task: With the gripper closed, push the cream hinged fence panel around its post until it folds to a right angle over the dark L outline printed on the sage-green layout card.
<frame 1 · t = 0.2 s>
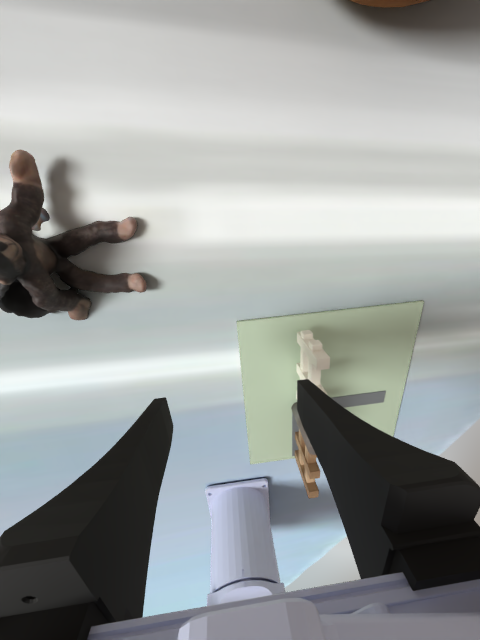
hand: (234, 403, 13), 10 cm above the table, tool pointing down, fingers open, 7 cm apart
layout card: (325, 391, 26), on the table
fixed fence panel: (297, 431, 28), resting on layout card
folding fence panel: (310, 381, 21), point 3 cm above the table, hinge at 0.0°
stuffed animal: (51, 244, 18), on the table
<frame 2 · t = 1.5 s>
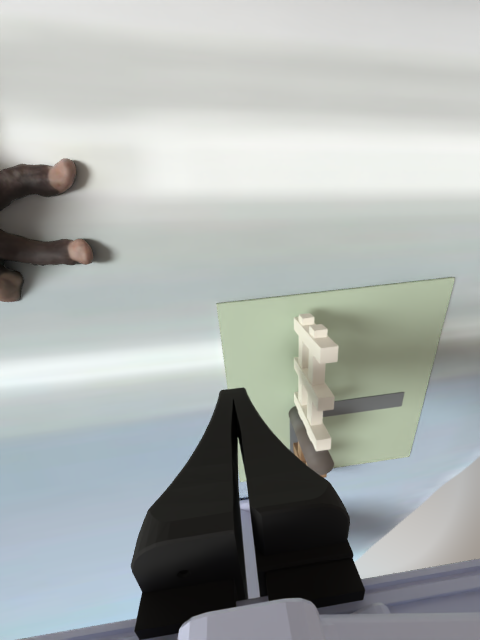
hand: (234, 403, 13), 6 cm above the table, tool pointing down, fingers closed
layout card: (330, 392, 21), on the table
fixed fence panel: (297, 442, 23), resting on layout card
folding fence panel: (311, 380, 16), point 3 cm above the table, hinge at 0.0°
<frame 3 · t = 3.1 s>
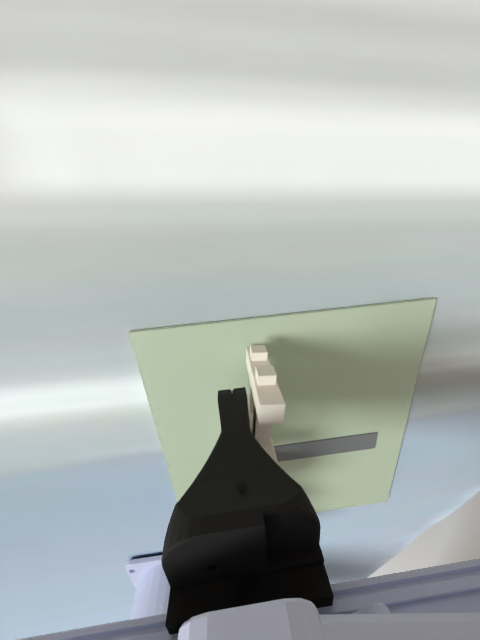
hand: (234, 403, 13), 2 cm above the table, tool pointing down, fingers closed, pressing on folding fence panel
layout card: (287, 433, 17), on the table
folding fence panel: (258, 430, 13), point 3 cm above the table, hinge at 5.8°, touching gripper
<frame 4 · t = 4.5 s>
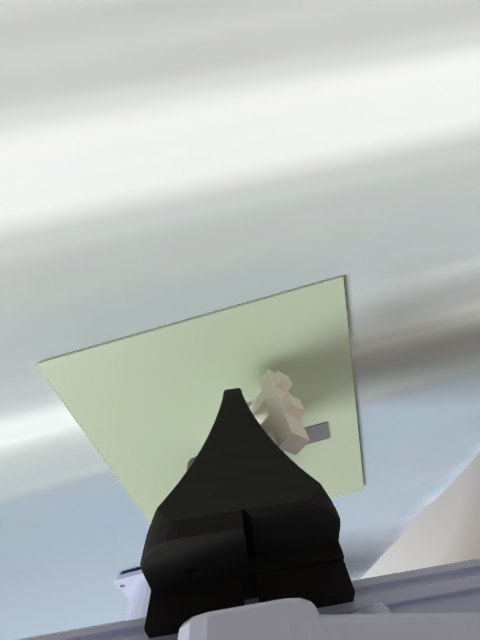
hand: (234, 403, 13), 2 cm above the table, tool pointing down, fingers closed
layout card: (233, 436, 17), on the table
folding fence panel: (245, 447, 13), point 3 cm above the table, hinge at 47.6°, touching gripper
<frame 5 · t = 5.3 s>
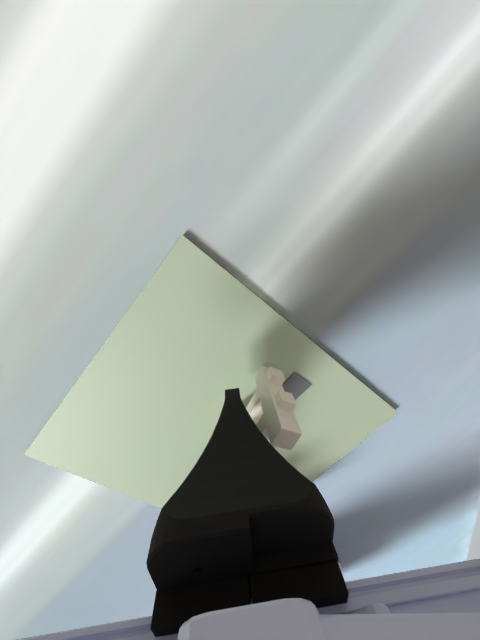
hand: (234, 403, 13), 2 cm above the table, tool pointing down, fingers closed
layout card: (219, 429, 17), on the table
folding fence panel: (246, 446, 13), point 3 cm above the table, hinge at 74.3°, touching gripper
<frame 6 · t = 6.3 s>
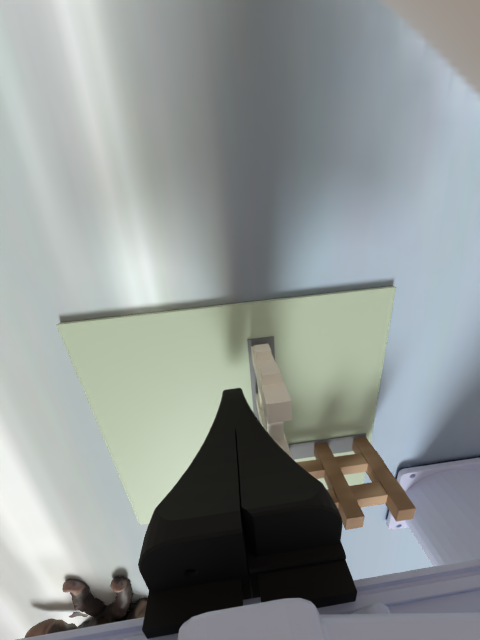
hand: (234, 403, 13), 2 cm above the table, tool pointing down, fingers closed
layout card: (244, 423, 17), on the table
fixed fence panel: (318, 443, 18), resting on layout card
folding fence panel: (271, 428, 13), point 3 cm above the table, hinge at 89.1°, touching gripper
stuffed animal: (102, 603, 25), on the table
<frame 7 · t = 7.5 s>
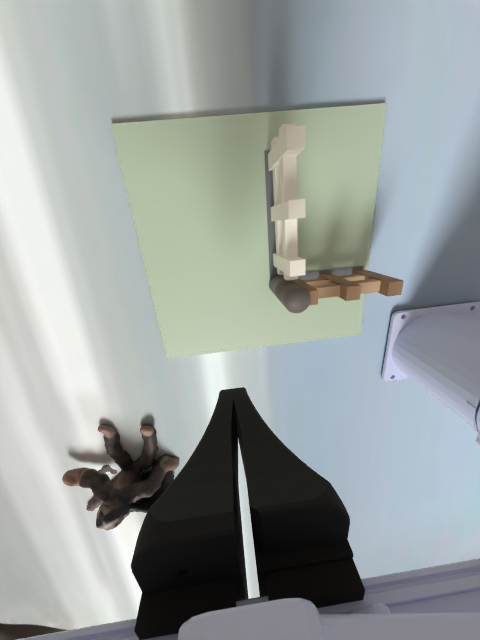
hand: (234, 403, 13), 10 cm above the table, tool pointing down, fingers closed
layout card: (259, 249, 19), on the table
fixed fence panel: (322, 278, 21), resting on layout card
folding fence panel: (285, 211, 16), point 3 cm above the table, hinge at 89.1°
stuffed animal: (128, 463, 28), on the table
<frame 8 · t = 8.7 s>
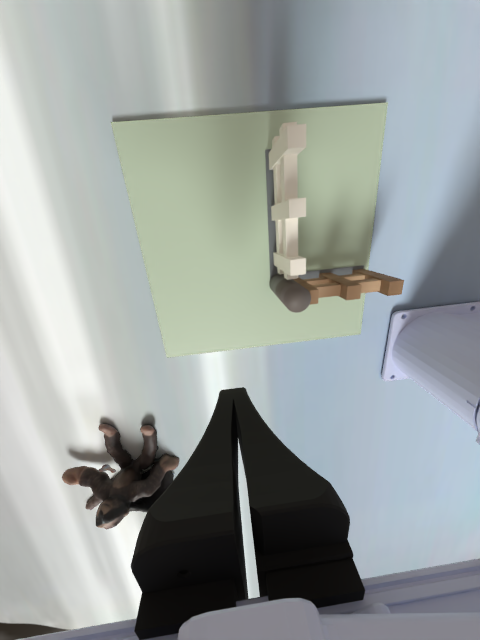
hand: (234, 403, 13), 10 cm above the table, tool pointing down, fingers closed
layout card: (260, 249, 19), on the table
fixed fence panel: (322, 277, 21), resting on layout card
folding fence panel: (286, 210, 16), point 3 cm above the table, hinge at 89.1°
stuffed animal: (127, 462, 28), on the table
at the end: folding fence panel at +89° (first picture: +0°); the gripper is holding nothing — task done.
